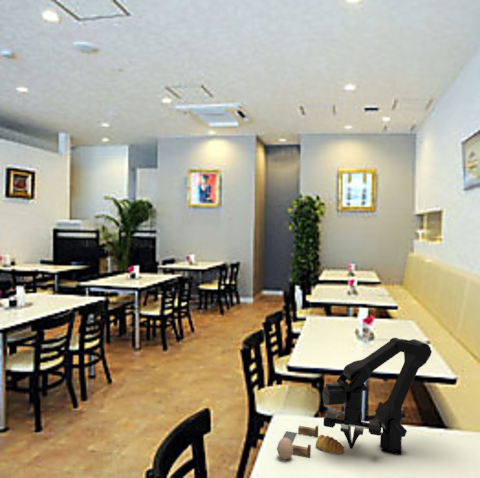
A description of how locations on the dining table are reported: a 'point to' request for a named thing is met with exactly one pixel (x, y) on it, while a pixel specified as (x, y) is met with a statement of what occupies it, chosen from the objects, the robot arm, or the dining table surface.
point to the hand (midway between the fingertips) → (351, 448)
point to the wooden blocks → (301, 450)
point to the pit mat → (290, 435)
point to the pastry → (329, 444)
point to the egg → (285, 448)
